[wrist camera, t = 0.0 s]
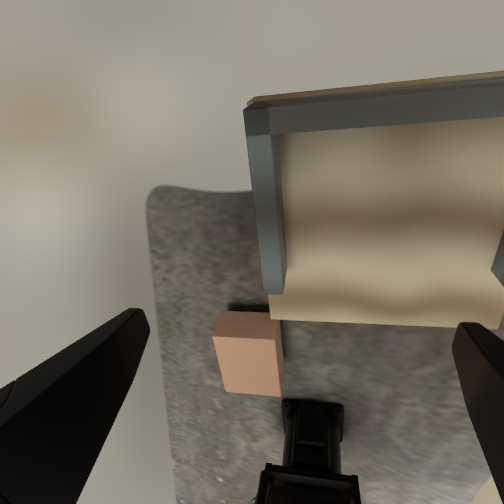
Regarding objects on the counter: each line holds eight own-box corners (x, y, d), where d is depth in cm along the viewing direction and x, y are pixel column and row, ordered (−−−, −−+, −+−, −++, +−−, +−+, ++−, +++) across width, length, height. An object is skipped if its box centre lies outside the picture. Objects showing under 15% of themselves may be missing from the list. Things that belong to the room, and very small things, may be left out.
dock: (482, 305, 25) (519, 364, 20) (274, 299, 28) (265, 348, 23) (562, 64, 16) (656, 70, 12) (254, 96, 20) (234, 110, 15)
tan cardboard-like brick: (286, 358, 32) (281, 396, 28) (235, 355, 33) (224, 391, 29) (281, 303, 28) (276, 340, 25) (224, 301, 29) (211, 336, 26)
